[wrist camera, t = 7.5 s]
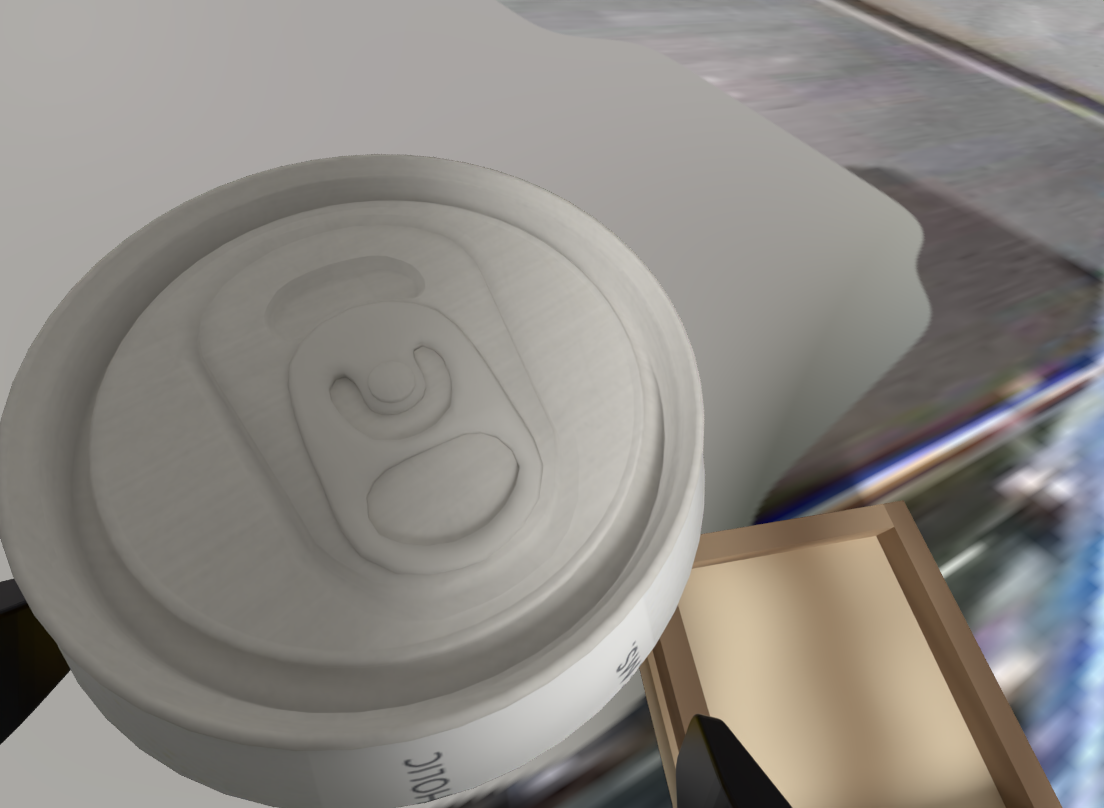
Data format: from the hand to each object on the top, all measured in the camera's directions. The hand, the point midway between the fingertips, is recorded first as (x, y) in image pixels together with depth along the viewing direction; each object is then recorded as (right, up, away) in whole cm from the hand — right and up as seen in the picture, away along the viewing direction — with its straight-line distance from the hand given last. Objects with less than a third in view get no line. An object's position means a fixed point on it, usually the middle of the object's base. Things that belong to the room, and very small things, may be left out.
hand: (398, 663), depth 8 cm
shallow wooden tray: (+10, -5, +9) cm, 15 cm away
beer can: (-1, -3, +9) cm, 10 cm away
